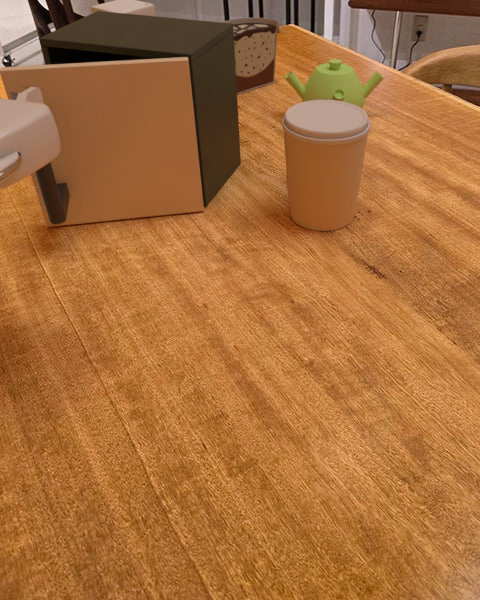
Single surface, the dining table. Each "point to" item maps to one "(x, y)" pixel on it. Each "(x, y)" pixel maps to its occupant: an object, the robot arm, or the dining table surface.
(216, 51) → the cupboard
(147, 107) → the door
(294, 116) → the coffee cup
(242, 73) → the food container
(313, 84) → the teapot
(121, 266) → the dining table surface
